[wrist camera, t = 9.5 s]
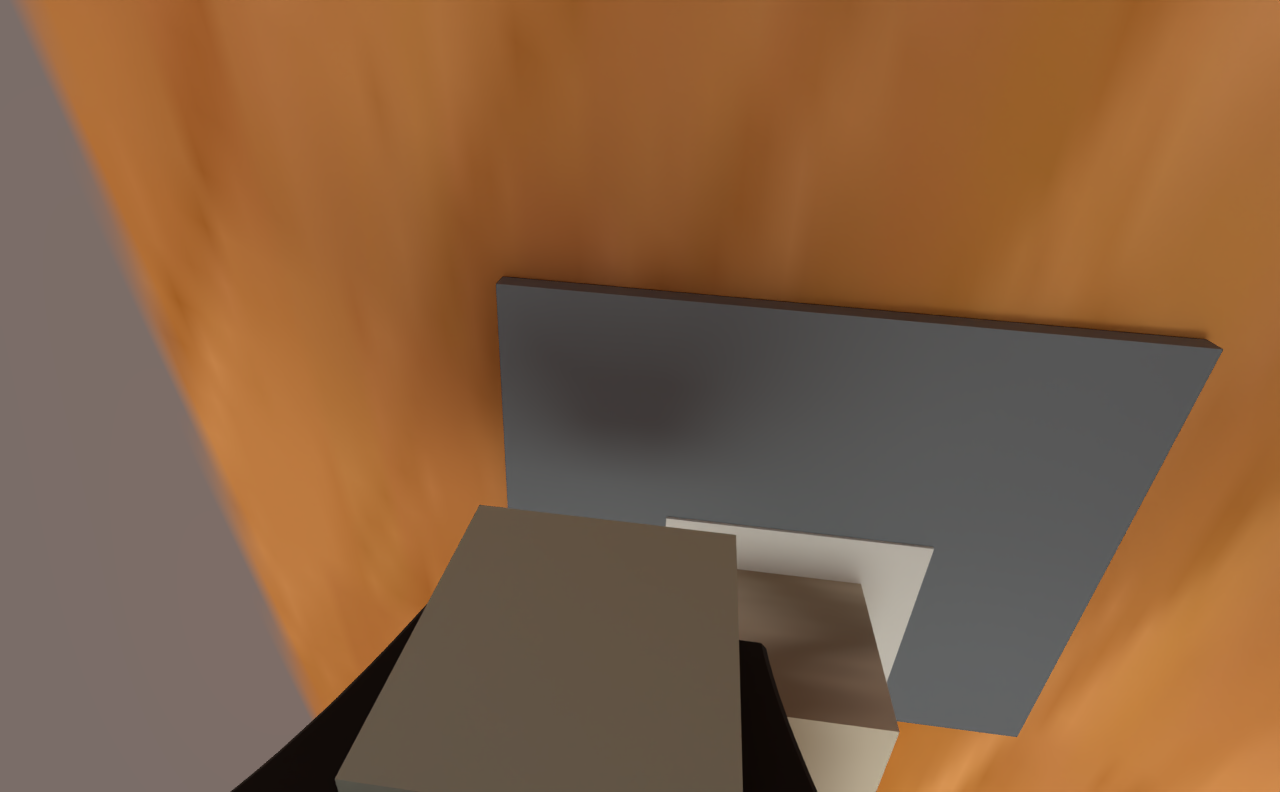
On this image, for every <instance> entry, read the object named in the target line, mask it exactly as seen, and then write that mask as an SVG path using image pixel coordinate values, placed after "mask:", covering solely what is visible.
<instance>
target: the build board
mask: <svg viewBox="0 0 1280 792" xmlns="http://www.w3.org/2000/svg"><path fill="white" fill-rule="evenodd" d="M496 294H497V313H498V332H499V350H500V369H501V388H502V406H503V425H504V444H505V463H506V481H507V500H508V508H510V509H519V510H528V511H536V512H545V513H553V514H562V515H570V516H579V517H588V518H596V519H605V520H613V521H622V522H631V523H639V524H648V525H656V526H665V527H673V528H682V529H691V530H699V531H708V532H716V533H725V534H733V535H736V549H737V569H740V570H749V571H757V572H765V573H774V574H782V575H790V576H799V577H807V578H816V579H824V580H832V581H841V582H849V583H858V584H861V586H862V590H863V594H864V597H865V601H866V605H867V609H868V613H869V617H870V621H871V624H872V628H873V632H874V636H875V640H876V644H877V648H878V651H879V655H880V659H881V663H882V667H883V671H884V675H885V678H886V682H887V686H888V690H889V694H890V698H891V702H892V705H893V709H894V713H895V717H896V721H900V722H907V723H915V724H923V725H930V726H938V727H945V728H953V729H960V730H968V731H975V732H983V733H990V734H998V735H1006V736H1013V737H1017V736H1018V734H1019V732H1020V730H1021V729H1022V727H1023V725H1024V723H1025V721H1026V719H1027V717H1028V715H1029V714H1030V712H1031V710H1032V708H1033V706H1034V704H1035V702H1036V700H1037V699H1038V697H1039V695H1040V693H1041V691H1042V689H1043V687H1044V685H1045V683H1046V682H1047V680H1048V678H1049V676H1050V674H1051V672H1052V670H1053V668H1054V667H1055V665H1056V663H1057V661H1058V659H1059V657H1060V655H1061V653H1062V652H1063V650H1064V648H1065V646H1066V644H1067V642H1068V640H1069V638H1070V636H1071V635H1072V633H1073V631H1074V629H1075V627H1076V625H1077V623H1078V621H1079V620H1080V618H1081V616H1082V614H1083V612H1084V610H1085V608H1086V606H1087V605H1088V603H1089V601H1090V599H1091V597H1092V595H1093V593H1094V591H1095V590H1096V588H1097V586H1098V584H1099V582H1100V580H1101V578H1102V576H1103V574H1104V573H1105V571H1106V569H1107V567H1108V565H1109V563H1110V561H1111V559H1112V558H1113V556H1114V554H1115V552H1116V550H1117V548H1118V546H1119V544H1120V543H1121V541H1122V539H1123V537H1124V535H1125V533H1126V531H1127V529H1128V528H1129V526H1130V524H1131V522H1132V520H1133V518H1134V516H1135V514H1136V512H1137V511H1138V509H1139V507H1140V505H1141V503H1142V501H1143V499H1144V497H1145V496H1146V494H1147V492H1148V490H1149V488H1150V486H1151V484H1152V482H1153V481H1154V479H1155V477H1156V475H1157V473H1158V471H1159V469H1160V467H1161V466H1162V464H1163V462H1164V460H1165V458H1166V456H1167V454H1168V452H1169V450H1170V449H1171V447H1172V445H1173V443H1174V441H1175V439H1176V437H1177V435H1178V434H1179V432H1180V430H1181V428H1182V426H1183V424H1184V422H1185V420H1186V419H1187V417H1188V415H1189V413H1190V411H1191V409H1192V407H1193V405H1194V403H1195V402H1196V400H1197V398H1198V396H1199V394H1200V392H1201V390H1202V388H1203V387H1204V385H1205V383H1206V381H1207V379H1208V377H1209V375H1210V373H1211V372H1212V370H1213V368H1214V366H1215V364H1216V362H1217V360H1218V358H1219V357H1220V355H1221V353H1222V351H1223V349H1222V348H1220V347H1218V346H1217V345H1215V344H1213V343H1212V342H1210V341H1208V340H1205V339H1194V338H1183V337H1172V336H1160V335H1149V334H1138V333H1127V332H1116V331H1105V330H1093V329H1082V328H1071V327H1060V326H1049V325H1038V324H1026V323H1015V322H1004V321H993V320H982V319H970V318H959V317H948V316H937V315H926V314H915V313H903V312H892V311H881V310H870V309H859V308H848V307H836V306H825V305H814V304H803V303H792V302H781V301H769V300H758V299H747V298H736V297H725V296H713V295H702V294H691V293H680V292H669V291H658V290H646V289H635V288H624V287H613V286H602V285H591V284H579V283H568V282H557V281H546V280H535V279H523V278H512V277H502V278H501V279H500V280H499V281H498V282H497V283H496Z"/></svg>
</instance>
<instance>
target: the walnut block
mask: <svg viewBox="0 0 1280 792" xmlns="http://www.w3.org/2000/svg"><path fill="white" fill-rule="evenodd" d="M737 587H738V625H739V640H743V641H751V642H759V643H762V644H763V645H764V646H765V648H766V649H767V654H768V658H769V662H770V665H771V669H772V673H773V676H774V679H775V683H776V686H777V689H778V692H779V695H780V698H781V701H782V704H783V707H784V709H785V712H786V715H787V718H788V721H789V723H790V726H791V729H792V731H793V734H794V736H795V739H796V742H797V744H798V746H799V749H800V751H801V754H802V756H803V759H804V761H805V763H806V766H807V768H808V771H809V773H810V775H811V778H812V780H813V782H814V785H815V787H816V789H817V791H818V792H876V790H877V788H878V785H879V783H880V780H881V778H882V775H883V772H884V770H885V767H886V765H887V762H888V760H889V757H890V755H891V752H892V750H893V747H894V745H895V742H896V739H897V737H898V734H899V729H898V725H897V721H896V717H895V713H894V709H893V705H892V702H891V698H890V694H889V690H888V686H887V682H886V678H885V675H884V671H883V667H882V663H881V659H880V655H879V651H878V648H877V644H876V640H875V636H874V632H873V628H872V624H871V621H870V617H869V613H868V609H867V605H866V601H865V597H864V594H863V590H862V586H861V584H858V583H849V582H841V581H832V580H824V579H816V578H807V577H799V576H790V575H782V574H774V573H765V572H757V571H749V570H740V569H737Z"/></svg>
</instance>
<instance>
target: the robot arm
mask: <svg viewBox="0 0 1280 792" xmlns="http://www.w3.org/2000/svg"><path fill="white" fill-rule="evenodd" d="M426 606H427V604H426ZM426 606H425V607H426ZM425 607H424V608H423V609H422V610H421V611H420V612H419V613H418V614H417V615H416V617H415V618H414V619H413V620H412V621H411V622H410V623H409V624H408V625H407V626H406V627H405V628H404V630H403V631H402V632H401V633H400V634H399V635H398V636H397V637H396V638H395V639H394V640H393V641H392V642H391V643H390V645H389V646H388V647H387V648H386V649H385V650H384V651H383V652H382V653H381V654H380V655H379V656H378V657H377V658H376V659H375V660H374V661H373V662H372V663H371V664H370V665H369V666H368V667H367V668H366V669H365V670H364V671H363V672H362V673H361V674H360V675H359V676H358V677H357V678H356V679H355V680H354V681H353V682H352V683H351V684H350V685H349V686H348V687H347V688H346V689H345V690H344V691H343V692H342V693H341V694H340V695H339V696H338V697H337V698H336V699H335V700H334V701H333V702H332V703H331V704H330V705H329V706H328V707H327V708H326V709H325V710H324V711H323V712H321V713H320V714H319V715H318V716H317V717H316V718H315V719H314V720H313V721H312V722H311V723H309V724H308V725H307V726H306V727H305V728H304V729H303V730H302V731H301V732H300V733H299V734H298V735H296V736H295V737H294V738H293V739H292V740H291V741H290V742H289V743H288V744H287V745H286V746H284V747H283V748H282V749H281V750H280V751H279V752H278V753H276V754H275V755H274V756H273V757H272V758H271V759H270V760H268V761H267V762H266V763H265V764H264V765H262V766H261V767H260V768H259V769H258V770H257V771H255V772H254V773H253V774H252V775H251V776H249V777H248V778H247V779H246V780H244V781H243V782H242V783H241V784H240V785H238V786H237V787H236V788H235V789H233V790H232V791H231V792H338V789H337V785H336V782H335V777H336V776H337V774H338V772H339V770H340V768H341V766H342V764H343V762H344V760H345V759H346V757H347V755H348V753H349V751H350V749H351V747H352V745H353V743H354V742H355V740H356V738H357V736H358V734H359V732H360V730H361V728H362V726H363V725H364V723H365V721H366V719H367V717H368V715H369V713H370V711H371V709H372V708H373V706H374V704H375V702H376V700H377V698H378V696H379V694H380V692H381V691H382V689H383V687H384V685H385V683H386V681H387V679H388V677H389V675H390V674H391V672H392V670H393V668H394V666H395V664H396V662H397V660H398V658H399V657H400V655H401V653H402V651H403V649H404V647H405V645H406V643H407V641H408V640H409V638H410V636H411V634H412V632H413V630H414V628H415V626H416V624H417V623H418V621H419V619H420V617H421V615H422V613H423V611H424V609H425ZM739 663H740V701H741V739H742V777H743V792H818V791H817V789H816V787H815V785H814V782H813V780H812V778H811V775H810V773H809V771H808V768H807V766H806V763H805V761H804V759H803V756H802V754H801V751H800V749H799V746H798V744H797V742H796V739H795V736H794V734H793V731H792V729H791V726H790V723H789V721H788V718H787V715H786V712H785V709H784V707H783V704H782V701H781V698H780V695H779V692H778V689H777V686H776V683H775V679H774V676H773V673H772V669H771V665H770V662H769V658H768V654H767V649H766V648H765V646H764V645H763V644H762V643H759V642H751V641H743V640H739Z"/></svg>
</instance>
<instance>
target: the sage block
mask: <svg viewBox="0 0 1280 792" xmlns="http://www.w3.org/2000/svg"><path fill="white" fill-rule="evenodd" d="M335 782H336V785H337V789H338V792H743V777H742V739H741V701H740V663H739V625H738V587H737V549H736V535H733V534H725V533H716V532H708V531H699V530H691V529H682V528H673V527H665V526H656V525H648V524H639V523H631V522H622V521H613V520H605V519H596V518H588V517H579V516H570V515H562V514H553V513H545V512H536V511H528V510H519V509H510V508H502V507H493V506H485V505H479V507H478V509H477V511H476V513H475V515H474V517H473V519H472V520H471V522H470V524H469V526H468V528H467V530H466V532H465V534H464V536H463V538H462V539H461V541H460V543H459V545H458V547H457V549H456V551H455V553H454V555H453V556H452V558H451V560H450V562H449V564H448V566H447V568H446V570H445V572H444V573H443V575H442V577H441V579H440V581H439V583H438V585H437V587H436V589H435V590H434V592H433V594H432V596H431V598H430V600H429V602H428V604H427V606H426V607H425V609H424V611H423V613H422V615H421V617H420V619H419V621H418V623H417V624H416V626H415V628H414V630H413V632H412V634H411V636H410V638H409V640H408V641H407V643H406V645H405V647H404V649H403V651H402V653H401V655H400V657H399V658H398V660H397V662H396V664H395V666H394V668H393V670H392V672H391V674H390V675H389V677H388V679H387V681H386V683H385V685H384V687H383V689H382V691H381V692H380V694H379V696H378V698H377V700H376V702H375V704H374V706H373V708H372V709H371V711H370V713H369V715H368V717H367V719H366V721H365V723H364V725H363V726H362V728H361V730H360V732H359V734H358V736H357V738H356V740H355V742H354V743H353V745H352V747H351V749H350V751H349V753H348V755H347V757H346V759H345V760H344V762H343V764H342V766H341V768H340V770H339V772H338V774H337V776H336V777H335Z"/></svg>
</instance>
